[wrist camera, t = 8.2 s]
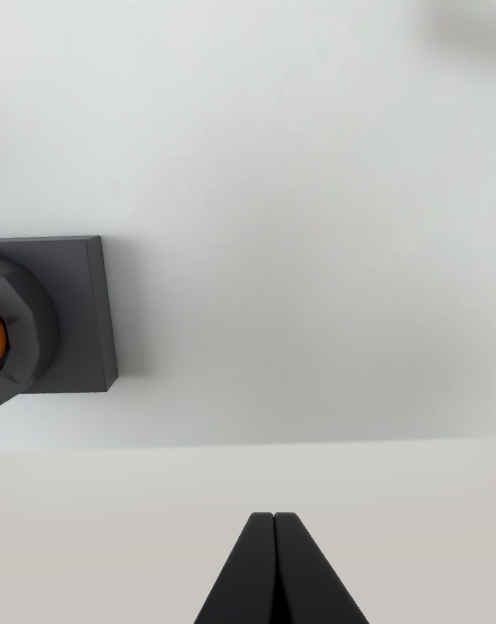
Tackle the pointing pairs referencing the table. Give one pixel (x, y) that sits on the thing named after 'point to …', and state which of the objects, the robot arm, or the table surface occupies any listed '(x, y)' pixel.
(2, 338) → the button
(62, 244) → the control block
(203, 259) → the table surface
